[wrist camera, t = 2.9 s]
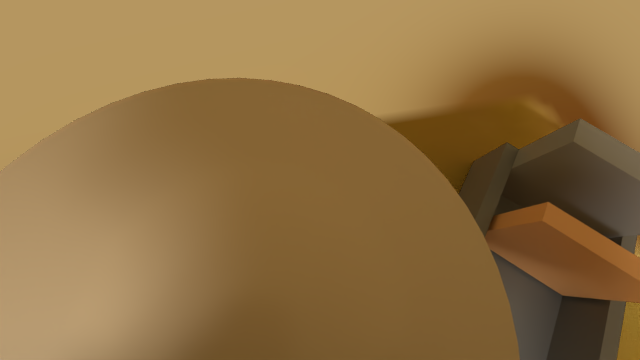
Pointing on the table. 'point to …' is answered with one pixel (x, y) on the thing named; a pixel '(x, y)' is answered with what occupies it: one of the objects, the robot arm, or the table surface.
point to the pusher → (565, 254)
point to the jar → (241, 236)
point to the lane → (581, 203)
